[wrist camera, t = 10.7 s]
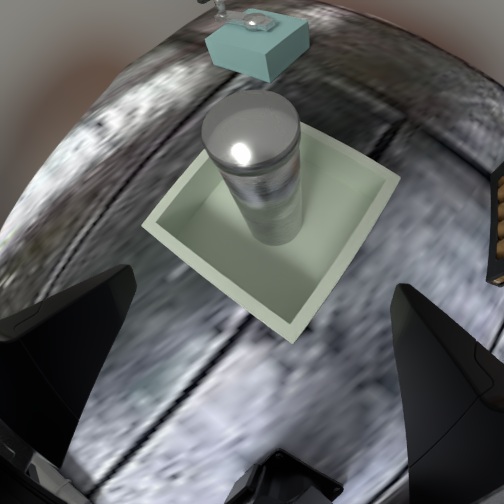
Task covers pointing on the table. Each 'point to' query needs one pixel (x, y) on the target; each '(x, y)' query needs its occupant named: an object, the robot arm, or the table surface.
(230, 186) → the pin
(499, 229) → the ammunition clip
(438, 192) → the table surface
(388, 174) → the tray
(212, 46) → the crank block
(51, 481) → the grey mallet
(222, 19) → the crank handle
